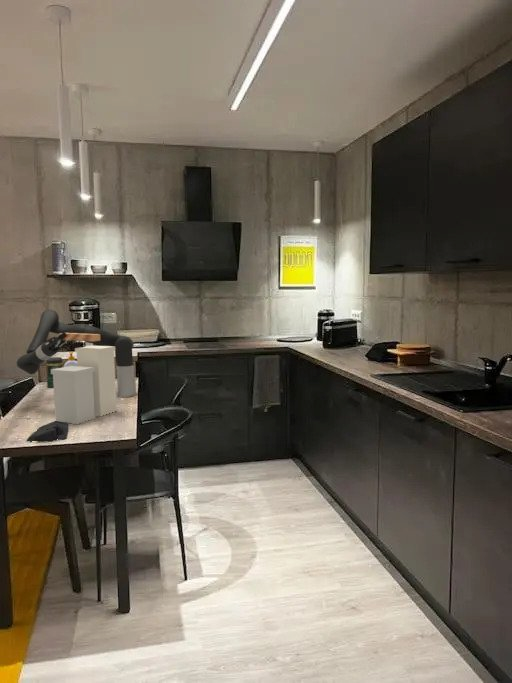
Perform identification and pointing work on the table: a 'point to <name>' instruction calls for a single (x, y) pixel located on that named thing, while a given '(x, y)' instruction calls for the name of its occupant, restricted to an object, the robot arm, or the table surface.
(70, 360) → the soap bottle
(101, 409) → the stand
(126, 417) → the table surface
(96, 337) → the board
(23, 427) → the table surface
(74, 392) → the block
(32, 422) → the table surface
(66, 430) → the dark slate chunk
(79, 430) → the table surface
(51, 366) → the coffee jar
